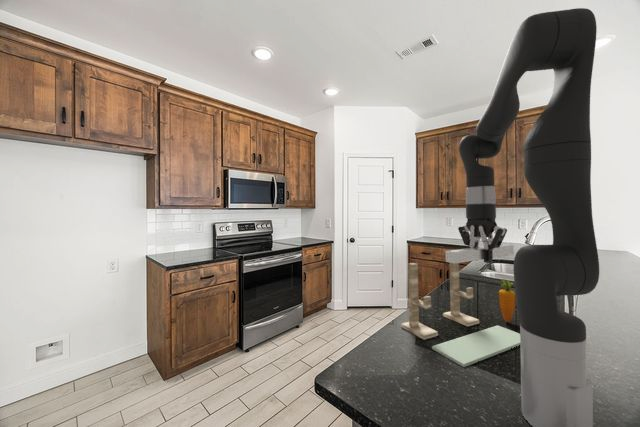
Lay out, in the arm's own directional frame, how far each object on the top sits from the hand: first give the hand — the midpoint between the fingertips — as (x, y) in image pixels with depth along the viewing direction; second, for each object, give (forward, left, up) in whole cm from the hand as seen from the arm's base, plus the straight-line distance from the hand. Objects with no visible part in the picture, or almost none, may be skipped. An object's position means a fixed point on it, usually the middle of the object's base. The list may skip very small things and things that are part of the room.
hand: (481, 261), depth 77 cm
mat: (0, 0, -25) cm, 25 cm away
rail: (0, 0, +1) cm, 1 cm away
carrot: (+6, -22, -25) cm, 34 cm away
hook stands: (+14, 0, -25) cm, 28 cm away
